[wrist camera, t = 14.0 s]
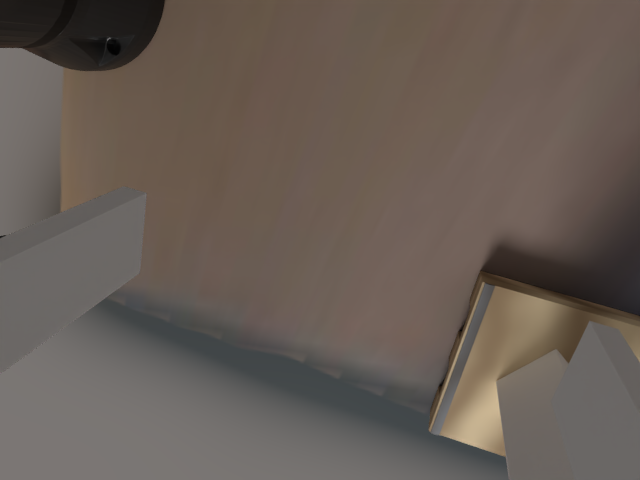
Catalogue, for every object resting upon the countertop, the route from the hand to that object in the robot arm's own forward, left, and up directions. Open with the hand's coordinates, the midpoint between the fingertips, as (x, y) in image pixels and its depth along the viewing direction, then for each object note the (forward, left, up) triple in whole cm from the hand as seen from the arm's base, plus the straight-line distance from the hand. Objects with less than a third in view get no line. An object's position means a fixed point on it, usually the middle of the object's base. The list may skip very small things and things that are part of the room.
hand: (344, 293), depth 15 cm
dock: (+16, -17, -31) cm, 39 cm away
